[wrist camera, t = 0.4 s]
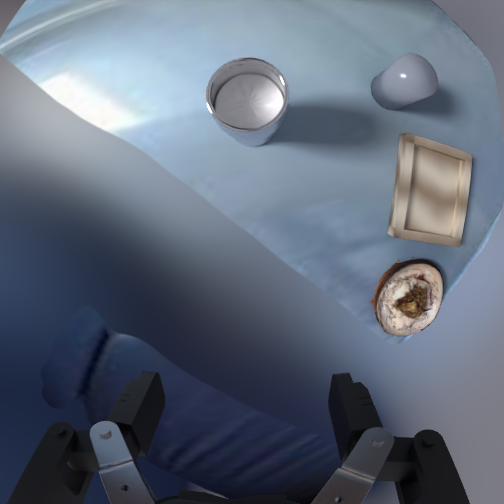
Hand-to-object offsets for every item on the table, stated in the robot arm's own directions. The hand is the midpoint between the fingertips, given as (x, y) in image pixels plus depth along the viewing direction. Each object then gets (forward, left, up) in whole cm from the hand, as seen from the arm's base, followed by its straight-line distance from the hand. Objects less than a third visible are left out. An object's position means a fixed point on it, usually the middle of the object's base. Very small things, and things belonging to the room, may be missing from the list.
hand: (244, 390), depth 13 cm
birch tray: (-11, +24, -28) cm, 38 cm away
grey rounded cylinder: (-24, +16, -28) cm, 40 cm away
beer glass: (-16, -2, -28) cm, 32 cm away
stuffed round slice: (+5, +24, -29) cm, 38 cm away
